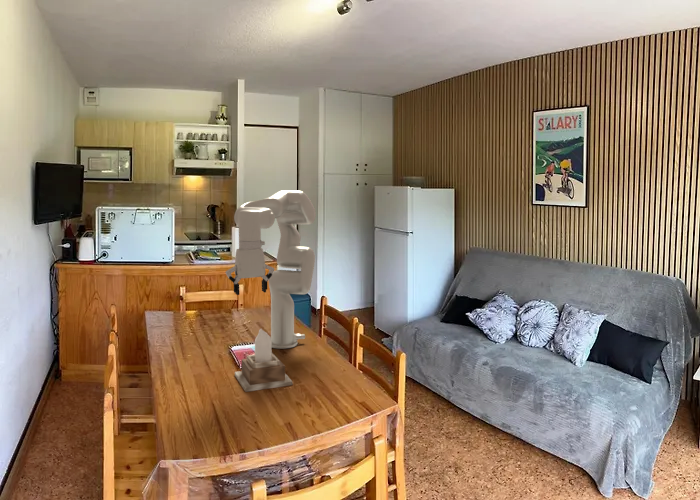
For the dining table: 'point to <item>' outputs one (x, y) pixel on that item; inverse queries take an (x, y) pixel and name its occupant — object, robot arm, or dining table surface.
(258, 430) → the dining table surface
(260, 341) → the roll
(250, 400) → the dining table surface
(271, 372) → the tower base
